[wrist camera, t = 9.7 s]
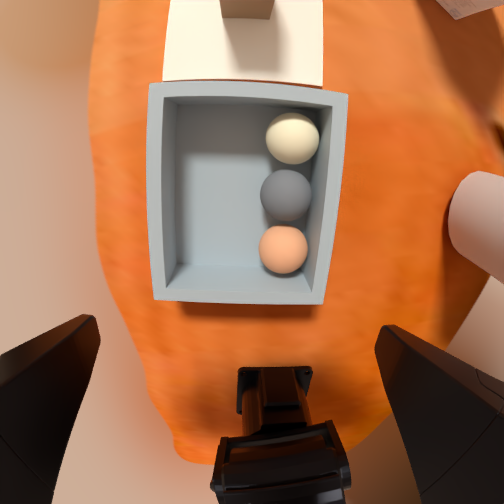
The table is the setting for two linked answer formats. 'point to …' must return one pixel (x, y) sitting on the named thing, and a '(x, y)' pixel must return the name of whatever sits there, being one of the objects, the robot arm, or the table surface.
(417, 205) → the table surface
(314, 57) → the lid
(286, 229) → the ball
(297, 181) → the ball
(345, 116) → the box
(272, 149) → the ball
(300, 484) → the robot arm
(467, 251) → the can
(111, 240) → the table surface
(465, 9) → the light bulb box
